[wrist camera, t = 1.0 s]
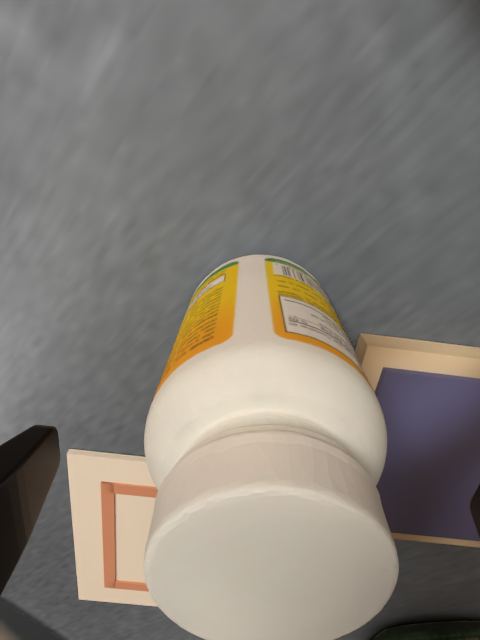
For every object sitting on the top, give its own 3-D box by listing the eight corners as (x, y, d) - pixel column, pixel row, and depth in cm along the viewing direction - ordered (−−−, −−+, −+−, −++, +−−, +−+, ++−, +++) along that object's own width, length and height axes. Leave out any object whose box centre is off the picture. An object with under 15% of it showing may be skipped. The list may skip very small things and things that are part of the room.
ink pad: (608, 363, 15) (638, 382, 14) (502, 531, 19) (519, 557, 18) (360, 333, 15) (370, 349, 14) (307, 511, 19) (311, 536, 18)
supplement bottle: (328, 244, 13) (483, 438, 5) (328, 374, 16) (432, 668, 7) (175, 258, 14) (52, 465, 5) (196, 384, 16) (138, 678, 7)
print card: (308, 474, 18) (309, 481, 18) (270, 610, 23) (270, 618, 22) (69, 448, 17) (65, 455, 17) (80, 593, 22) (78, 601, 22)
